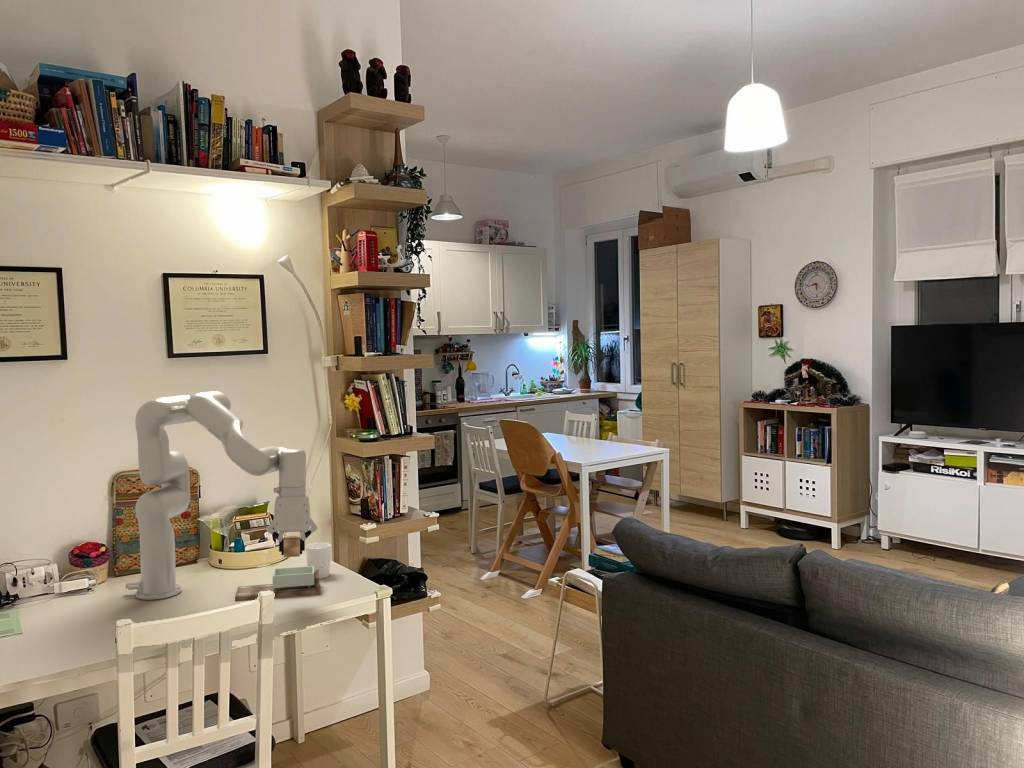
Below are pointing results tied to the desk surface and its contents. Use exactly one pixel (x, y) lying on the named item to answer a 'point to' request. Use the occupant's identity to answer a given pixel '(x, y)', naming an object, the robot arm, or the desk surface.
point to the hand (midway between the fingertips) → (291, 552)
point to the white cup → (319, 558)
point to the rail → (253, 591)
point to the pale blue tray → (293, 577)
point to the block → (291, 546)
